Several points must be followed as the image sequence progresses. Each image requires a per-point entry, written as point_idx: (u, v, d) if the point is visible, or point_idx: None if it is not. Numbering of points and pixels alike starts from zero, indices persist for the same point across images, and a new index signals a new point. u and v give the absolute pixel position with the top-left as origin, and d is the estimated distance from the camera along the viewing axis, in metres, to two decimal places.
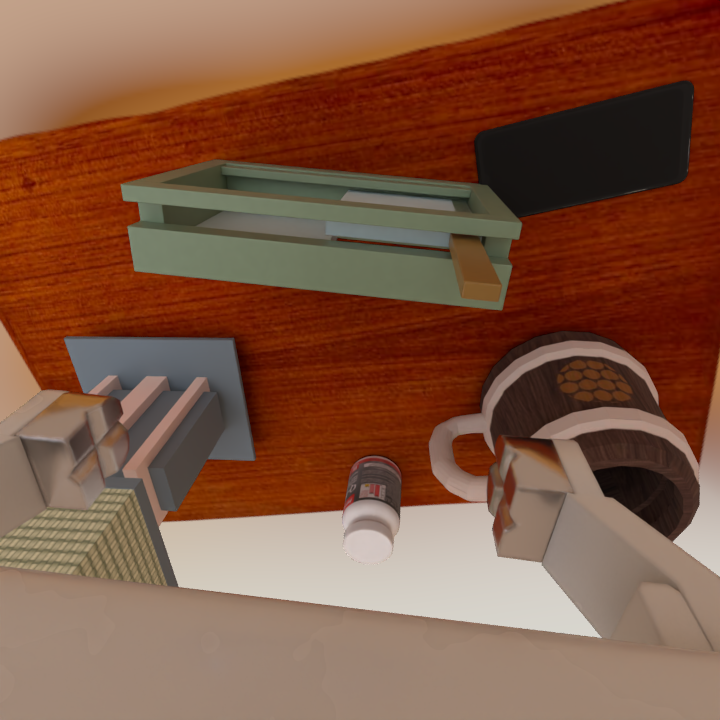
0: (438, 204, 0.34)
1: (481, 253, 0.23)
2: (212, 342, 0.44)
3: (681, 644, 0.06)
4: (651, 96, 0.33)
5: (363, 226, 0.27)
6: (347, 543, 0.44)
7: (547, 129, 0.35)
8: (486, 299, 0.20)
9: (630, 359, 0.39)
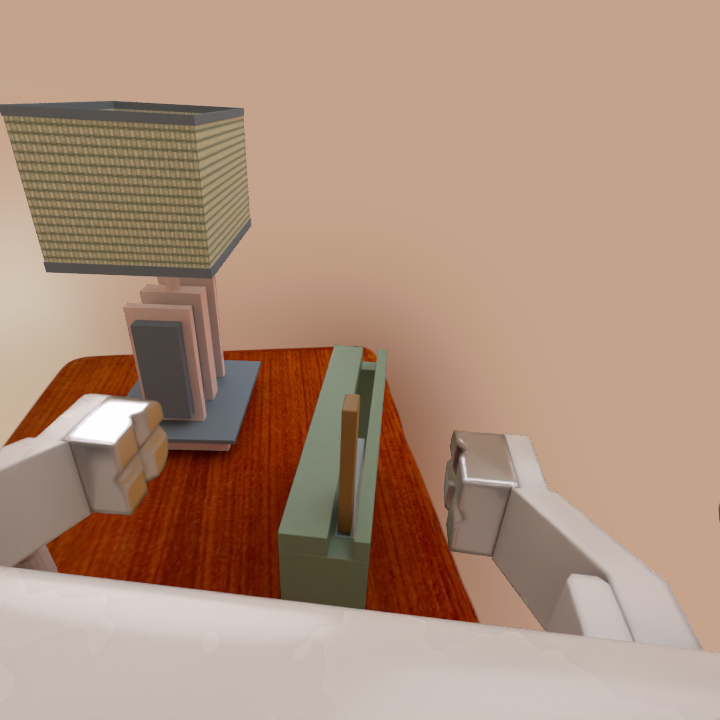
0: None
1: (354, 477, 0.26)
2: (236, 429, 0.51)
3: (603, 635, 0.06)
4: None
5: (358, 458, 0.33)
6: None
7: None
8: (344, 404, 0.24)
9: None
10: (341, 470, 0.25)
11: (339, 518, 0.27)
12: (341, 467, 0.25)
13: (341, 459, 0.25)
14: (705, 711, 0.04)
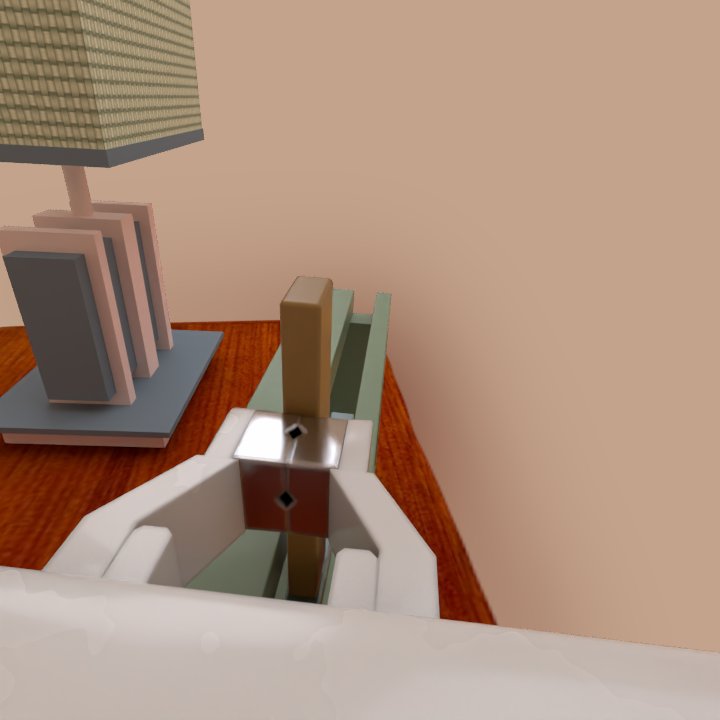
0: None
1: None
2: (174, 416, 0.36)
3: (347, 604, 0.06)
4: None
5: None
6: None
7: None
8: (290, 292, 0.09)
9: None
10: None
11: (291, 568, 0.12)
12: None
13: None
14: (705, 711, 0.04)
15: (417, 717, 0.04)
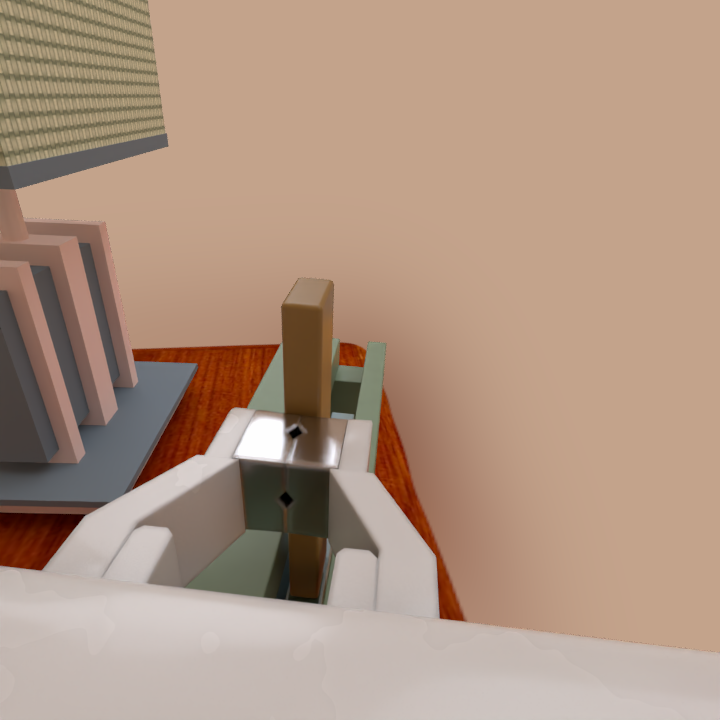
0: None
1: None
2: (128, 479, 0.30)
3: (346, 604, 0.06)
4: None
5: None
6: None
7: None
8: (291, 294, 0.09)
9: None
10: None
11: (292, 569, 0.12)
12: None
13: None
14: (705, 711, 0.04)
15: (417, 717, 0.04)
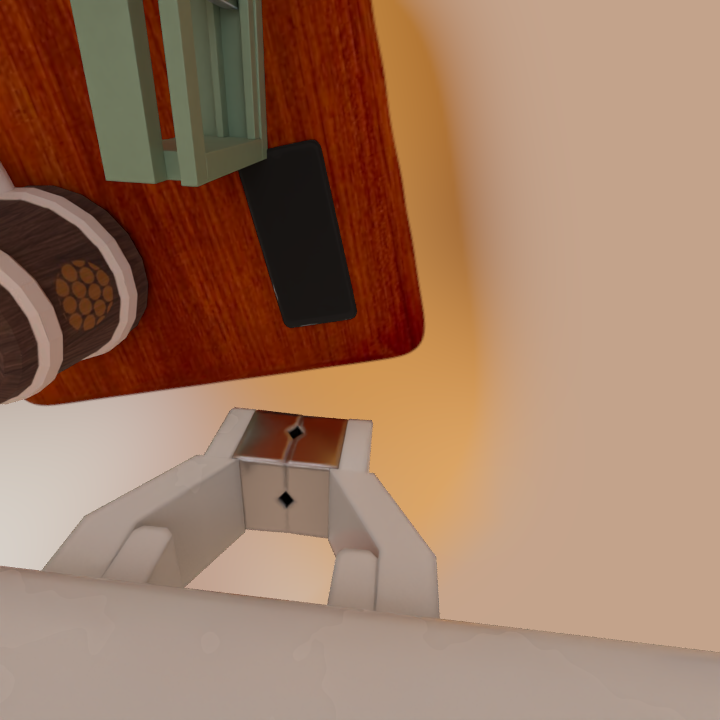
0: None
1: None
2: None
3: (346, 604, 0.06)
4: (346, 290, 0.41)
5: None
6: None
7: (321, 210, 0.38)
8: None
9: (127, 323, 0.41)
10: None
11: None
12: None
13: None
14: (705, 711, 0.04)
15: (417, 717, 0.04)
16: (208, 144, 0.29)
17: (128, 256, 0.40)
